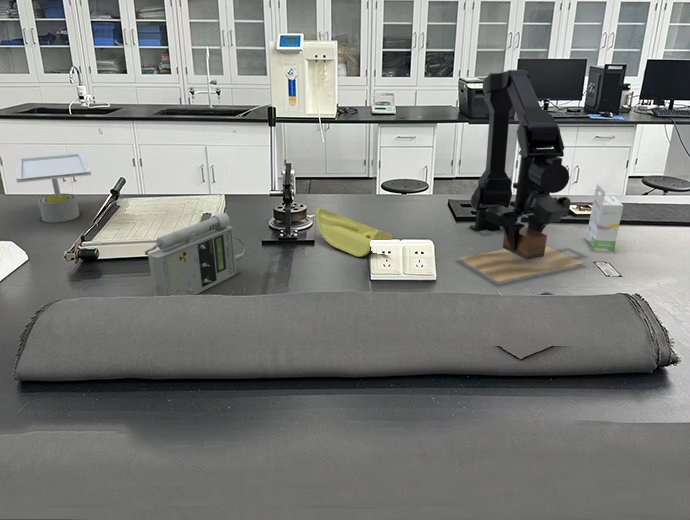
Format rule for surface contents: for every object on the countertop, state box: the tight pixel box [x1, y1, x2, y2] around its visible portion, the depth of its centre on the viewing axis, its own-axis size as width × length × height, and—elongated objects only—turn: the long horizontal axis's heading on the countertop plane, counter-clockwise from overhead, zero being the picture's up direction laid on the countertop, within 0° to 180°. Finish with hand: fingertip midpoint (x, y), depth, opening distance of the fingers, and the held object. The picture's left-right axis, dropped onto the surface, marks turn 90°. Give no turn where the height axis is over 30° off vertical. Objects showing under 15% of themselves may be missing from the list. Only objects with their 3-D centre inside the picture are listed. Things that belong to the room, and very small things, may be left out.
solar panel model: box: [15, 152, 92, 224], centre depth 150 cm, size 28×17×15 cm, turn 29°
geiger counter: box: [144, 212, 247, 297], centre depth 108 cm, size 14×6×25 cm
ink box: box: [585, 183, 624, 252], centre depth 128 cm, size 9×5×15 cm, turn 168°
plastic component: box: [315, 207, 394, 258], centre depth 132 cm, size 20×7×10 cm
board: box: [458, 245, 584, 283], centre depth 120 cm, size 14×24×1 cm, turn 114°
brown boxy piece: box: [502, 225, 548, 260], centre depth 118 cm, size 8×5×5 cm, turn 25°
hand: (522, 248), depth 119 cm, fingers closed on brown boxy piece, 5 cm apart
